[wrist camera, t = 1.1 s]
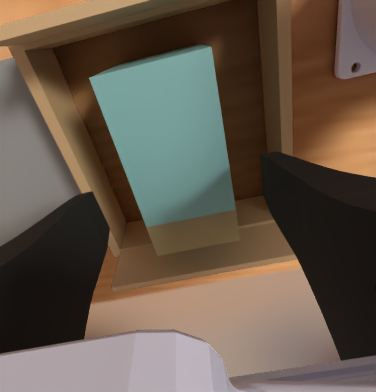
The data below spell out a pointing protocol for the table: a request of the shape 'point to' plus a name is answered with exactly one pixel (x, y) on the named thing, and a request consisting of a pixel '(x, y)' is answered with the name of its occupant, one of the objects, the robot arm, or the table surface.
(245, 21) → the table surface
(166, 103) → the teal box
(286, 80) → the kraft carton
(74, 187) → the slate mat
